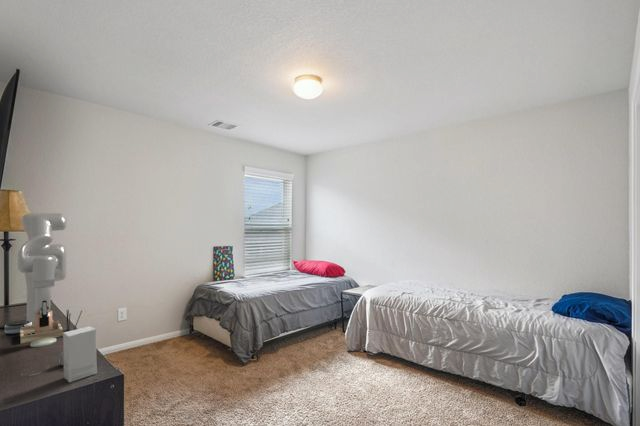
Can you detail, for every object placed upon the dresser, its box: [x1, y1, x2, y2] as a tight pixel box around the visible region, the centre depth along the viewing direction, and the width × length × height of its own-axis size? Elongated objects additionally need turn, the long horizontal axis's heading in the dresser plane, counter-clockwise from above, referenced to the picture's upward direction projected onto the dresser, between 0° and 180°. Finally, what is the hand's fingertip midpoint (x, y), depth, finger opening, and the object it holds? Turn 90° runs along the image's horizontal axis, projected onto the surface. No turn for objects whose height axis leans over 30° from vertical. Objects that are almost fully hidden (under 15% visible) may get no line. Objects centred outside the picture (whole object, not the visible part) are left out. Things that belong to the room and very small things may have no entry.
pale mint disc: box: [29, 337, 57, 348], centre depth 148 cm, size 9×9×1 cm
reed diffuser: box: [58, 309, 83, 366], centre depth 125 cm, size 10×7×20 cm
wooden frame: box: [19, 320, 64, 345], centre depth 159 cm, size 16×15×4 cm
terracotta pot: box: [35, 307, 53, 334], centre depth 149 cm, size 6×6×12 cm
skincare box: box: [62, 326, 98, 383], centre depth 114 cm, size 8×7×16 cm
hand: (43, 324), depth 149 cm, fingers closed on terracotta pot, 6 cm apart
